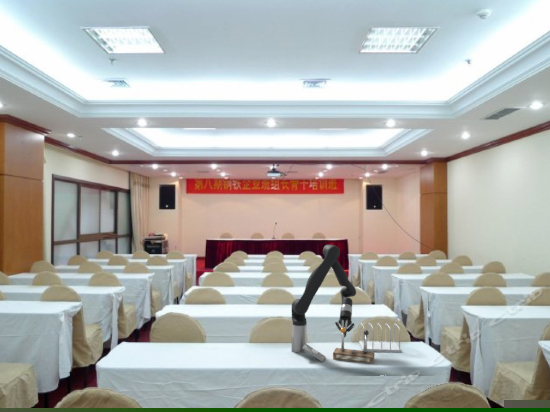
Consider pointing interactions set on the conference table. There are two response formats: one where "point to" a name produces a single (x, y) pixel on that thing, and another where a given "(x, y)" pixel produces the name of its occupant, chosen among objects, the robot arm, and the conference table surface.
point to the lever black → (365, 341)
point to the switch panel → (353, 355)
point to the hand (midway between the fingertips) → (343, 336)
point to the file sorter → (380, 346)
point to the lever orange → (342, 338)
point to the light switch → (314, 352)
